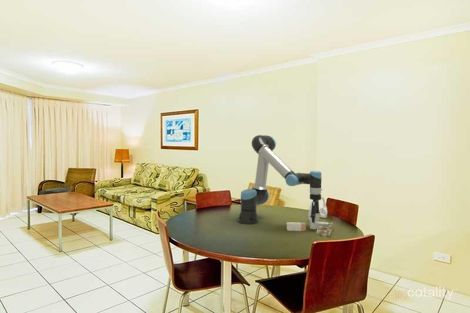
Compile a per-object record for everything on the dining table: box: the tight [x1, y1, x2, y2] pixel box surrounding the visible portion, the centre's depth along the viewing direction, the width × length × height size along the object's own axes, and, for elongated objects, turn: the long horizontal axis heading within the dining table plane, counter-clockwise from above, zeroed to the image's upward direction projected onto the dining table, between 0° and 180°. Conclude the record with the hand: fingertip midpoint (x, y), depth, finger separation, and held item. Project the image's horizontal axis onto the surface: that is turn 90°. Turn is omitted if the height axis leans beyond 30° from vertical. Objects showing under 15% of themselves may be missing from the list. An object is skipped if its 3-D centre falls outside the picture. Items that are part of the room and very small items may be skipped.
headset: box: [307, 196, 328, 223], centre depth 221 cm, size 20×7×18 cm, turn 131°
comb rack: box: [316, 221, 334, 238], centre depth 191 cm, size 8×21×5 cm, turn 155°
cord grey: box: [309, 221, 330, 231], centre depth 197 cm, size 12×4×4 cm, turn 65°
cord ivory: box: [286, 221, 307, 232], centre depth 195 cm, size 12×4×4 cm, turn 85°
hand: (315, 224), depth 198 cm, fingers open, 12 cm apart
